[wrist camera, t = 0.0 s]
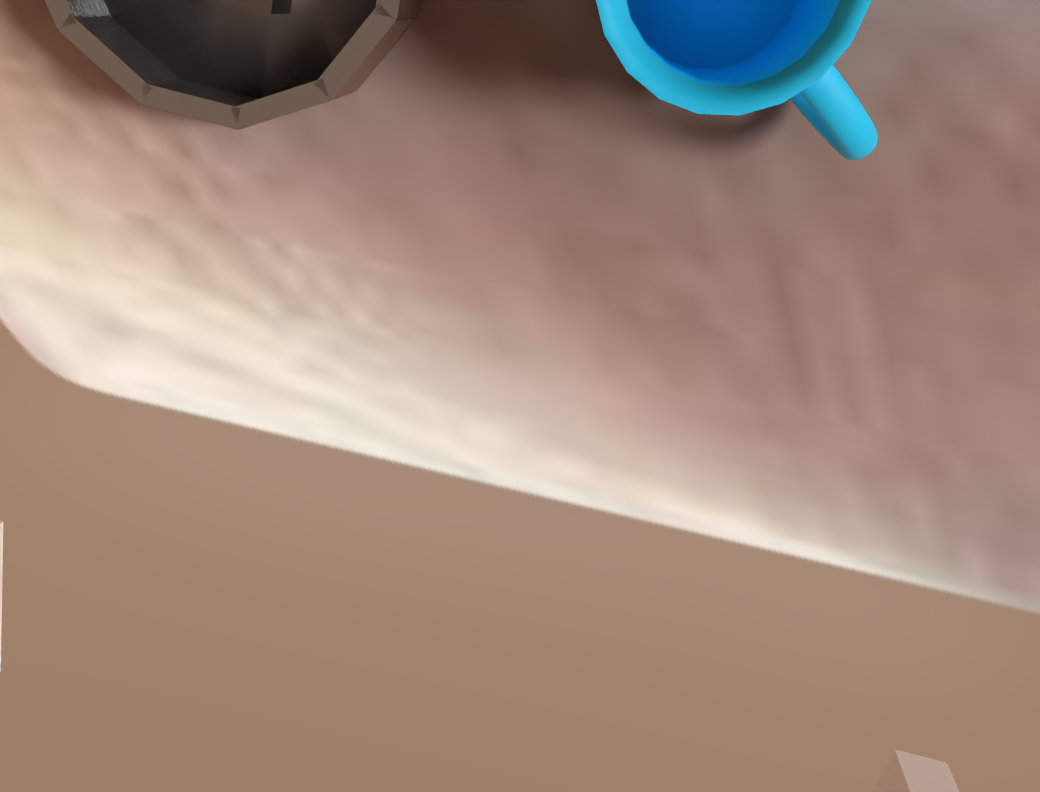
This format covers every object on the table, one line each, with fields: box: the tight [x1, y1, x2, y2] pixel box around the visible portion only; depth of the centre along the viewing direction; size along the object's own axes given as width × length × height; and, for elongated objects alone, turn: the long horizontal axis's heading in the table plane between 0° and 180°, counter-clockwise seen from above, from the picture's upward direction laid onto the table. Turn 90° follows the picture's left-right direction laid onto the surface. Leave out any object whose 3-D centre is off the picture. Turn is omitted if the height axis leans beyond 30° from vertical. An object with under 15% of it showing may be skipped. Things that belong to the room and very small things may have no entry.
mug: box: [596, 0, 878, 160], centre depth 32 cm, size 12×8×8 cm
